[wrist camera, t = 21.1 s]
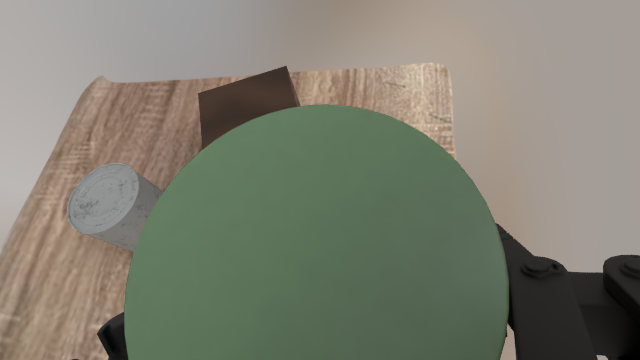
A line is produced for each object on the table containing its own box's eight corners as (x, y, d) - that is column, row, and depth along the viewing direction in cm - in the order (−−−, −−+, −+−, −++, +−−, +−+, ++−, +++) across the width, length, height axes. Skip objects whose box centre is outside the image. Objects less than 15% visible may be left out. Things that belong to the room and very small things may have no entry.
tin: (400, 221, 19) (414, 65, 9) (461, 379, 16) (614, 438, 5) (267, 260, 20) (128, 156, 9) (295, 424, 16) (111, 567, 5)
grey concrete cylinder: (144, 198, 56) (85, 162, 45) (196, 200, 54) (149, 163, 43) (123, 256, 52) (53, 231, 41) (179, 261, 50) (122, 236, 39)
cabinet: (322, 186, 51) (309, 152, 43) (235, 211, 52) (205, 183, 43) (301, 107, 59) (286, 65, 50) (225, 130, 59) (198, 93, 51)
